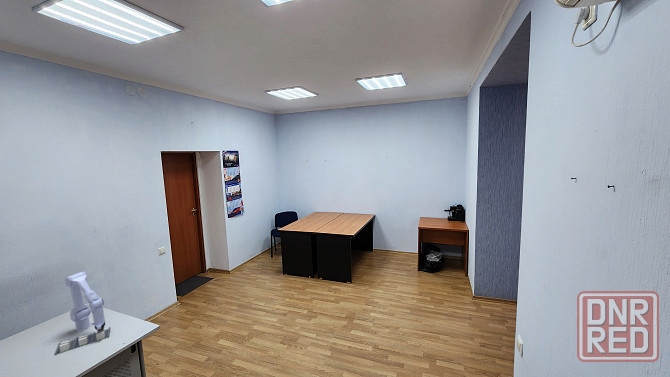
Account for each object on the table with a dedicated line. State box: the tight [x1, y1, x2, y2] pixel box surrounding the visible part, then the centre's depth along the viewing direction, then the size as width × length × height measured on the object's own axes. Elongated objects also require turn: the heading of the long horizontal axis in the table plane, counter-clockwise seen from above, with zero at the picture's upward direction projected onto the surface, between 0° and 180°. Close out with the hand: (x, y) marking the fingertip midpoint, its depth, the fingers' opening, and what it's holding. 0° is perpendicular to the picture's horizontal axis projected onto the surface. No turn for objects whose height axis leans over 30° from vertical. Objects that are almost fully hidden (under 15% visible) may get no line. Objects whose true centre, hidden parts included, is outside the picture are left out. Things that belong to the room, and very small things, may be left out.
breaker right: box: [59, 340, 70, 352], centre depth 177 cm, size 4×4×4 cm
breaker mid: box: [78, 334, 88, 347], centre depth 182 cm, size 4×4×4 cm
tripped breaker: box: [95, 329, 105, 341], centre depth 187 cm, size 4×4×4 cm
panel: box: [54, 326, 111, 356], centre depth 185 cm, size 12×27×2 cm, turn 126°
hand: (101, 333), depth 190 cm, fingers closed
